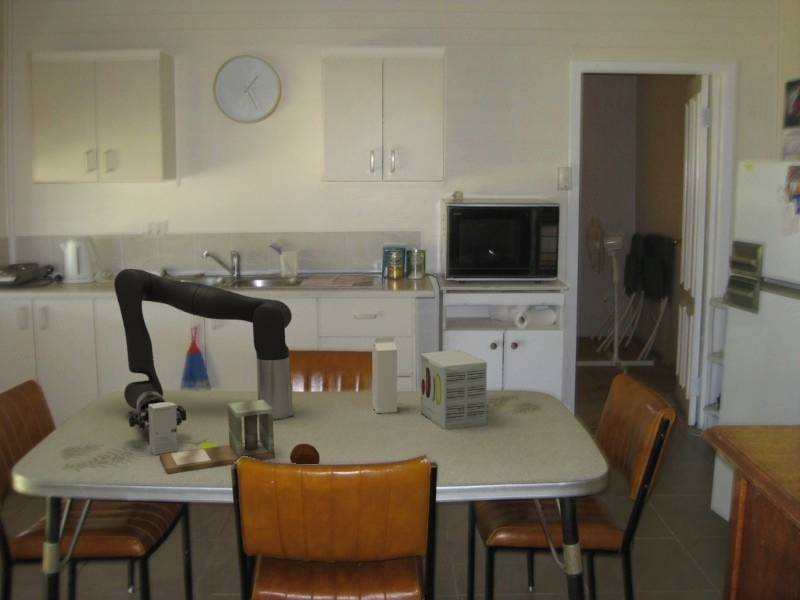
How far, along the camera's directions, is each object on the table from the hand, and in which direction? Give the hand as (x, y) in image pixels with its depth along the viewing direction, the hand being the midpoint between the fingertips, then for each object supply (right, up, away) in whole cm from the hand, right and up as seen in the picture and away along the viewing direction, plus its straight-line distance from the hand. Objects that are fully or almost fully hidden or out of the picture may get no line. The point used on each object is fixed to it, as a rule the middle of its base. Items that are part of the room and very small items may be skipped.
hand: (161, 423), depth 209 cm
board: (+16, -8, -6) cm, 19 cm away
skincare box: (+1, -7, -1) cm, 7 cm away
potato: (+38, -9, -14) cm, 42 cm away
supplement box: (+76, -3, +26) cm, 80 cm away
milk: (+56, -1, +35) cm, 66 cm away
